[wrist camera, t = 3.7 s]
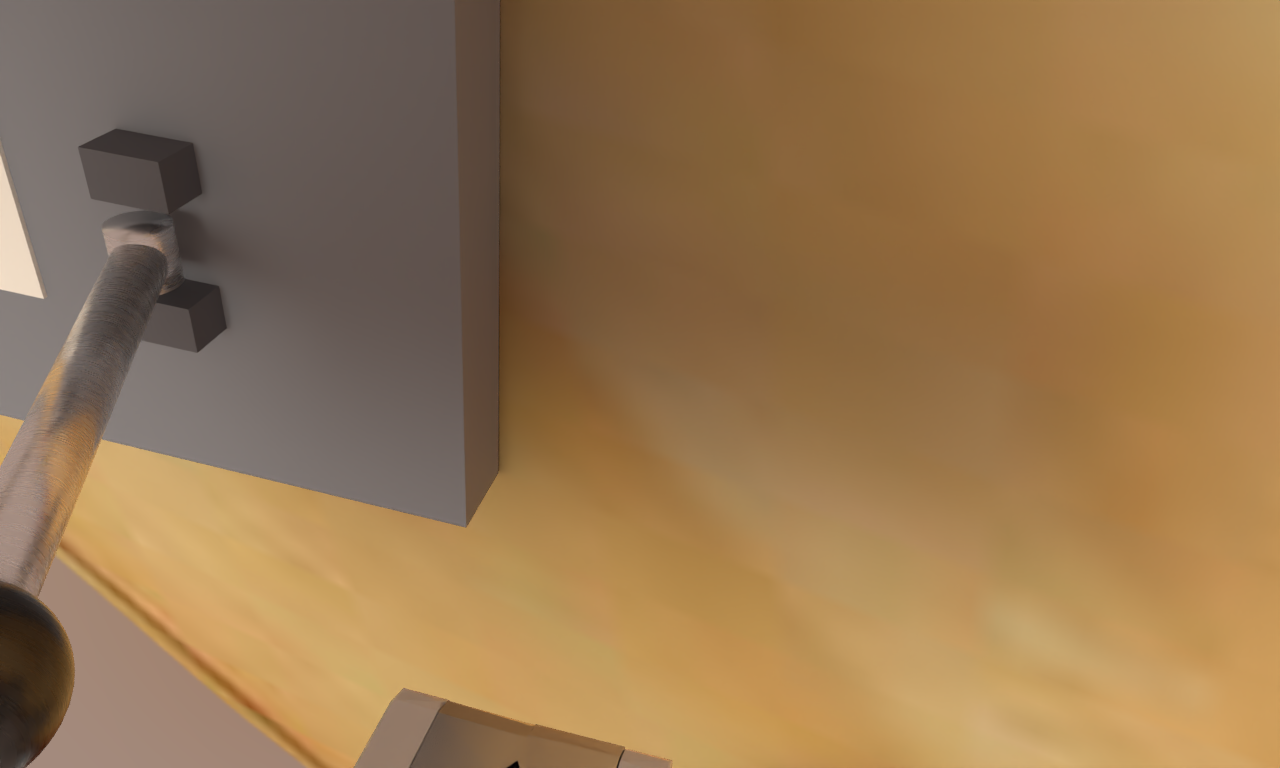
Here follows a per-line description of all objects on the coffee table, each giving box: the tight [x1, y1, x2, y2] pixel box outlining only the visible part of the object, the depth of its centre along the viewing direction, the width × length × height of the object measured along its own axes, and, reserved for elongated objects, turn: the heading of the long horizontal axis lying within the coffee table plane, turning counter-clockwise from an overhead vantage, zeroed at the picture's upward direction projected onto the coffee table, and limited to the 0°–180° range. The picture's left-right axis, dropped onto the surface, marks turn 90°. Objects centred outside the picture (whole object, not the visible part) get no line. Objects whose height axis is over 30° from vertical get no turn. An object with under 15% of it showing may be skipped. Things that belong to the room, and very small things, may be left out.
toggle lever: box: [0, 211, 185, 768], centre depth 14 cm, size 2×2×12 cm
